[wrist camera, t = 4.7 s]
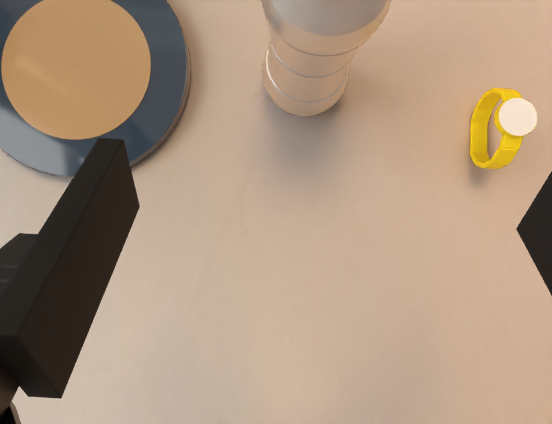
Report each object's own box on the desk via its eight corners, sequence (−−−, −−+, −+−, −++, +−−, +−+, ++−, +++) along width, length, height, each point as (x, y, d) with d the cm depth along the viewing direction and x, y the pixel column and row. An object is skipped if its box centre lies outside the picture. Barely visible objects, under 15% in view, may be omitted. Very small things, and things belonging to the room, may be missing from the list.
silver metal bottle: (280, 34, 35) (289, -213, 15) (354, 64, 35) (460, -143, 15) (250, 104, 35) (221, -54, 15) (325, 135, 35) (394, 17, 15)
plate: (-70, 62, 35) (-83, 56, 34) (94, -77, 36) (87, -89, 34) (72, 223, 35) (64, 223, 34) (235, 80, 35) (233, 75, 34)
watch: (492, 173, 35) (536, 163, 29) (458, 171, 35) (496, 160, 29) (495, 102, 35) (540, 77, 29) (462, 100, 35) (501, 75, 29)
